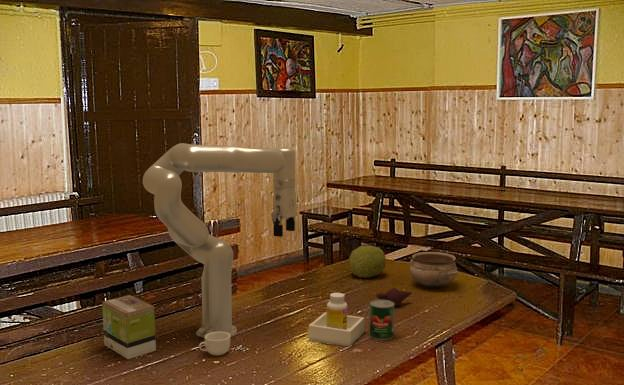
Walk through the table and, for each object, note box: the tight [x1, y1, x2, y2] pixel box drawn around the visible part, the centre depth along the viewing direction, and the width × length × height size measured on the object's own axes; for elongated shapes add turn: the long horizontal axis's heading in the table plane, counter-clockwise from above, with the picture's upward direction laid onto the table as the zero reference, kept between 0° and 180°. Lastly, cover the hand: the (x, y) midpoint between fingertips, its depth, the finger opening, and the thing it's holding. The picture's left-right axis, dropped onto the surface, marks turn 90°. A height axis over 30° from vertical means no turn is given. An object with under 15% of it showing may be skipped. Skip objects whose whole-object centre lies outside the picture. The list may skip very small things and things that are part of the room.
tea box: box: [101, 294, 157, 360], centre depth 204 cm, size 15×10×15 cm, turn 44°
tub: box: [308, 311, 366, 348], centre depth 215 cm, size 14×14×5 cm
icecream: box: [376, 287, 413, 307], centre depth 246 cm, size 7×8×15 cm
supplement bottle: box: [326, 292, 348, 330], centre depth 215 cm, size 7×7×13 cm
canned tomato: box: [368, 299, 395, 341], centre depth 216 cm, size 8×8×11 cm
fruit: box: [348, 245, 387, 279], centre depth 285 cm, size 16×14×15 cm
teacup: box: [198, 331, 231, 356], centre depth 201 cm, size 10×8×5 cm
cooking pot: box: [409, 251, 459, 289], centre depth 271 cm, size 25×19×12 cm
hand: (284, 233), depth 228 cm, fingers open, 9 cm apart
